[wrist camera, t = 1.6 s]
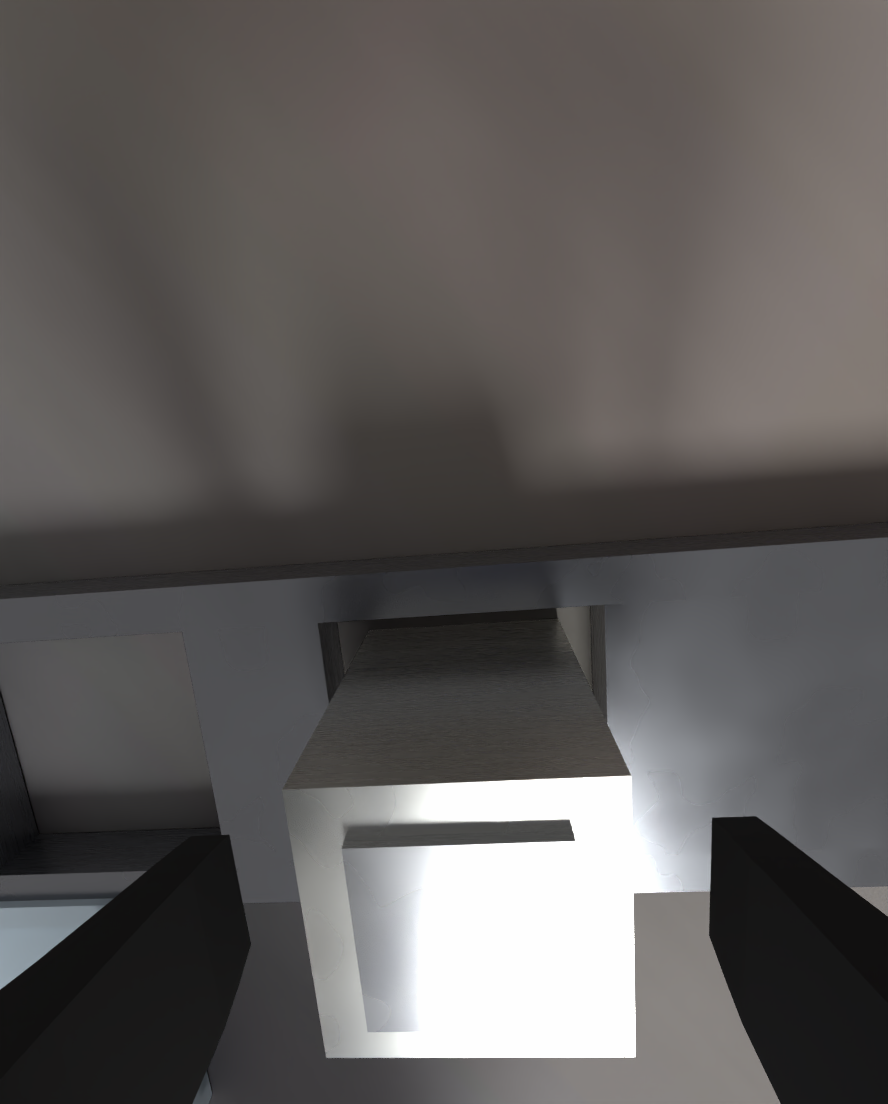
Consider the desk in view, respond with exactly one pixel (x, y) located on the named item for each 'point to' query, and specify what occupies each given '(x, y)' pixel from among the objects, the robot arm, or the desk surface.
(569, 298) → the desk surface
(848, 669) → the rail
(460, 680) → the grey rectangular block
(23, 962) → the parts tray
